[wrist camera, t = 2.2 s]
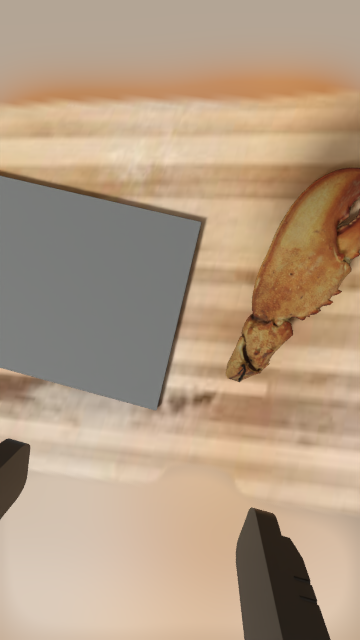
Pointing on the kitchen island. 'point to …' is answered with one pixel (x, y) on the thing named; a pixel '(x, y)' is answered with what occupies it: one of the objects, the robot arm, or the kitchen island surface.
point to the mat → (90, 290)
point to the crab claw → (300, 268)
